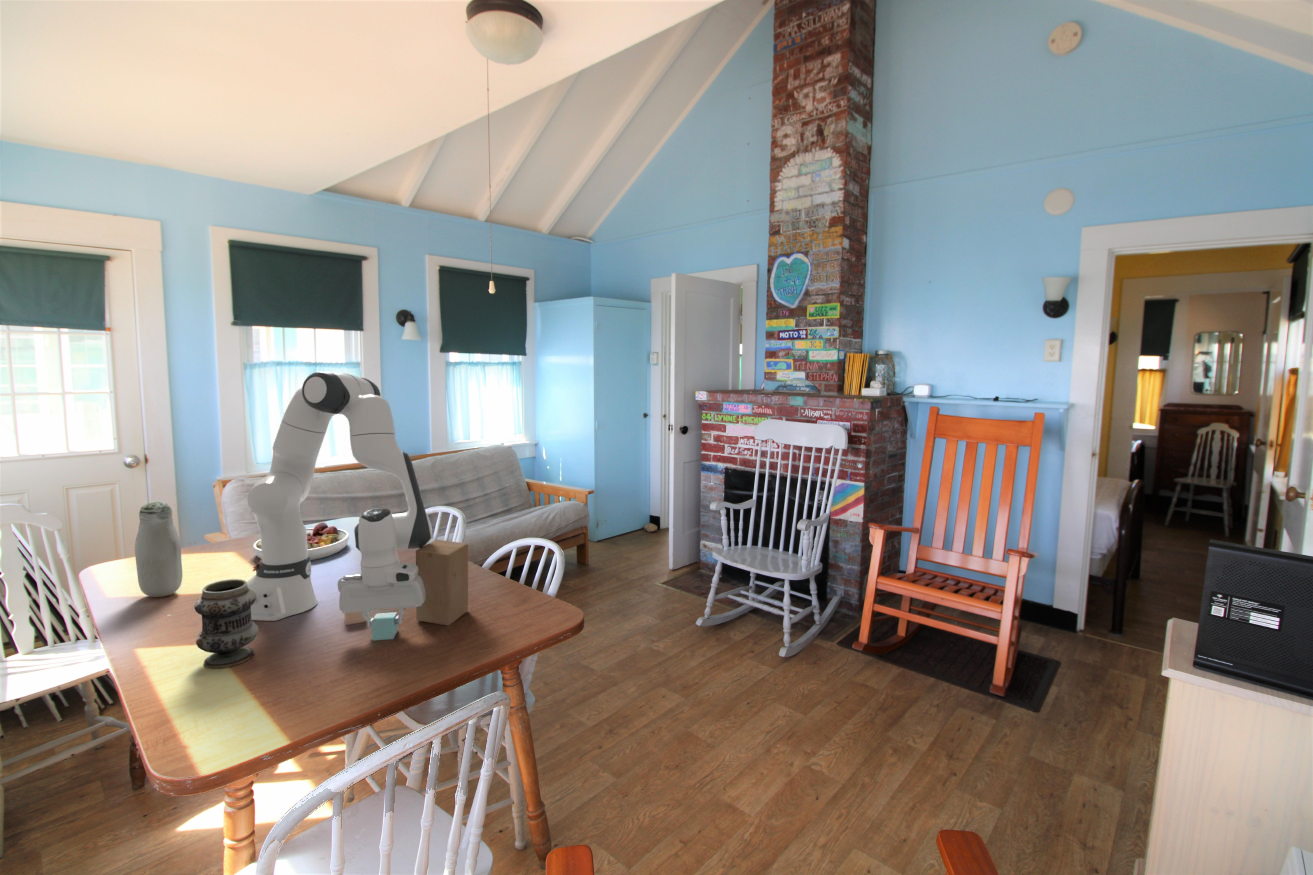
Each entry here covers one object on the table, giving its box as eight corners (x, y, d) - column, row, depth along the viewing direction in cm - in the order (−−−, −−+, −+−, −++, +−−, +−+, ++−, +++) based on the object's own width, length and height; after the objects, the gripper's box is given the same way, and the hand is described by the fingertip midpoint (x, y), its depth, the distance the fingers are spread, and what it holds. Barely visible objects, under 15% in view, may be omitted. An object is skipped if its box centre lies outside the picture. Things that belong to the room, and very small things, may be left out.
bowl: (321, 566, 209) (320, 544, 208) (233, 565, 209) (232, 543, 208) (364, 540, 238) (363, 521, 237) (287, 539, 239) (286, 519, 238)
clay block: (345, 625, 163) (344, 607, 163) (344, 618, 168) (343, 600, 167) (366, 621, 166) (365, 603, 165) (364, 614, 170) (363, 597, 169)
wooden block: (449, 626, 163) (448, 554, 160) (415, 620, 166) (414, 550, 163) (468, 611, 173) (468, 543, 170) (437, 605, 175) (436, 538, 172)
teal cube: (372, 640, 155) (371, 621, 154) (377, 631, 160) (376, 613, 159) (393, 638, 156) (392, 620, 155) (397, 630, 160) (396, 612, 160)
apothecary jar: (250, 667, 141) (244, 591, 138) (188, 674, 137) (181, 597, 135) (267, 643, 152) (262, 573, 150) (210, 649, 149) (204, 578, 146)
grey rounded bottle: (132, 603, 175) (123, 507, 172) (153, 589, 185) (145, 499, 182) (172, 600, 177) (163, 506, 174) (190, 587, 187) (183, 498, 184)
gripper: (332, 580, 151) (337, 634, 153) (419, 573, 154) (424, 626, 156) (341, 572, 157) (345, 623, 159) (424, 565, 161) (428, 615, 162)
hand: (385, 624), depth 158 cm, fingers closed on teal cube, 5 cm apart
